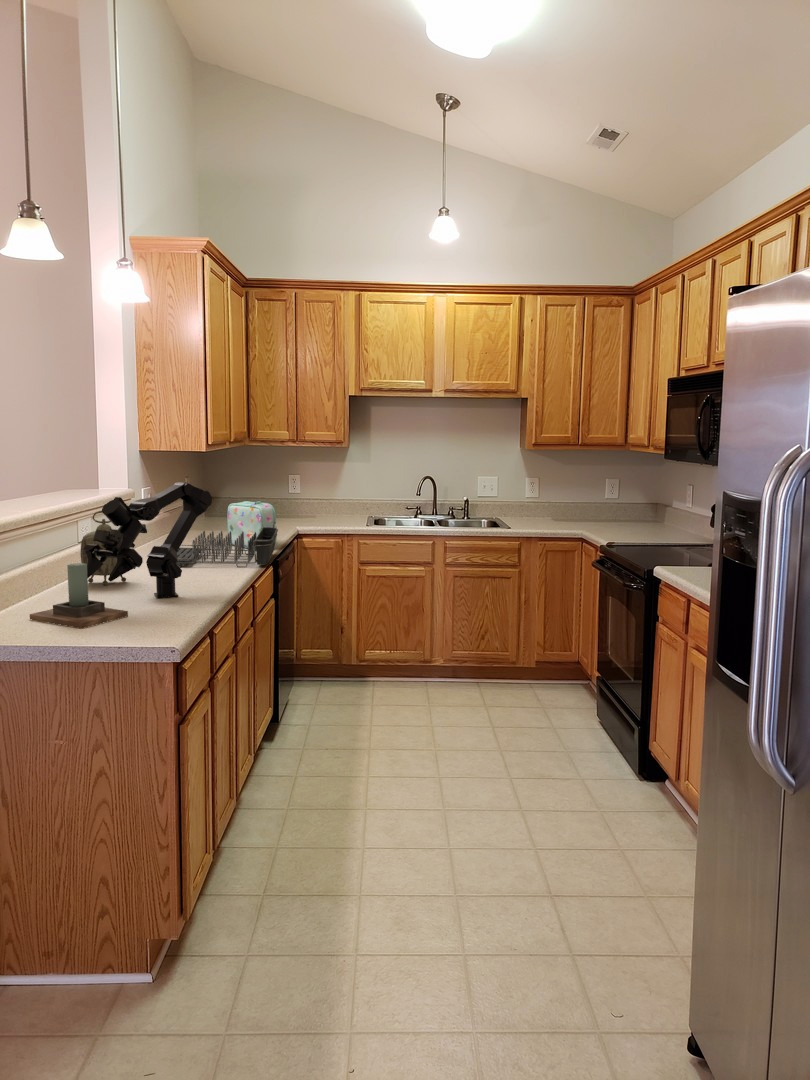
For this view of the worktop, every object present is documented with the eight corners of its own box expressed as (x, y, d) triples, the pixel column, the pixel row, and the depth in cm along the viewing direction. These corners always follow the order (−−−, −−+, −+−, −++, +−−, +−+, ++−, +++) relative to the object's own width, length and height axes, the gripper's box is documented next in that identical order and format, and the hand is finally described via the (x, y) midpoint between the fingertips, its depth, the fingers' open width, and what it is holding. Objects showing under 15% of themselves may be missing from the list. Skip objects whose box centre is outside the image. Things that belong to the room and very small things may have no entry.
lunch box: (281, 549, 344) (281, 501, 341) (263, 551, 336) (263, 503, 333) (242, 543, 360) (242, 497, 357) (225, 545, 352) (224, 498, 349)
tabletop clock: (130, 581, 267) (127, 509, 264) (126, 586, 258) (124, 512, 255) (85, 582, 264) (82, 509, 260) (80, 587, 255) (77, 512, 252)
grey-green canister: (74, 608, 217) (72, 563, 215) (91, 608, 216) (90, 563, 215) (66, 612, 212) (64, 566, 210) (84, 613, 212) (82, 566, 210)
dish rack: (272, 569, 296) (272, 538, 294) (155, 569, 292) (154, 537, 290) (279, 555, 329) (279, 527, 328) (173, 555, 325) (172, 526, 324)
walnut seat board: (77, 608, 226) (77, 594, 225) (127, 616, 217) (127, 602, 217) (29, 619, 212) (29, 605, 211) (81, 628, 203) (80, 613, 202)
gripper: (86, 516, 225) (56, 559, 217) (133, 520, 217) (104, 565, 209) (108, 540, 234) (80, 582, 225) (155, 544, 225) (127, 588, 217)
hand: (97, 579), depth 219 cm, fingers open, 9 cm apart
